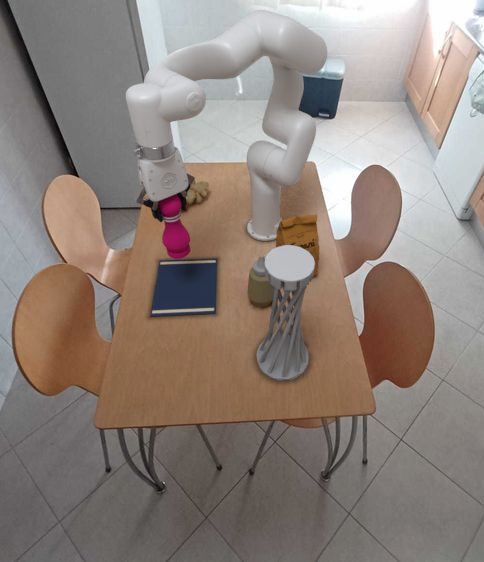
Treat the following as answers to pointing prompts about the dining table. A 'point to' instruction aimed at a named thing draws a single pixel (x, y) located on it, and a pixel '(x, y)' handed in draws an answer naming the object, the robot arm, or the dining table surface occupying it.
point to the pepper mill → (174, 228)
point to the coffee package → (300, 235)
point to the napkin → (185, 288)
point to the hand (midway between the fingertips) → (170, 213)
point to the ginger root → (197, 192)
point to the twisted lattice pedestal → (286, 313)
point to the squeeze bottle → (259, 284)
